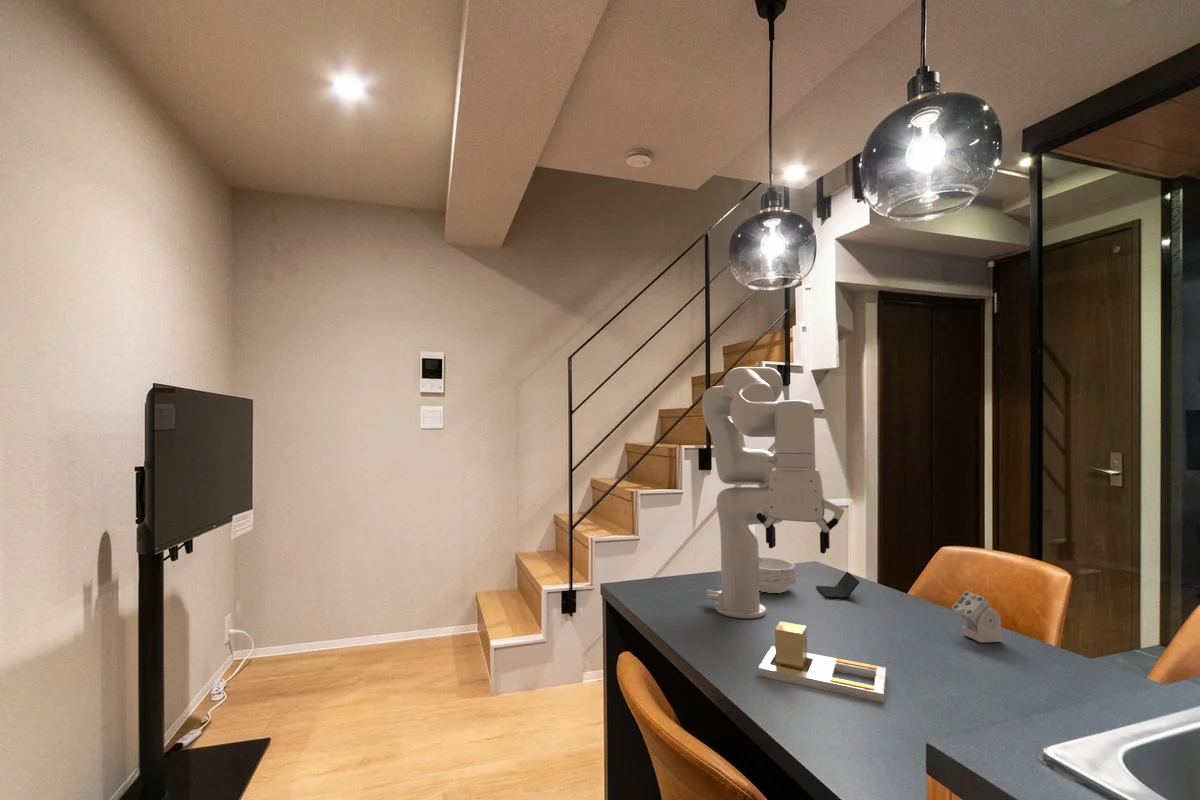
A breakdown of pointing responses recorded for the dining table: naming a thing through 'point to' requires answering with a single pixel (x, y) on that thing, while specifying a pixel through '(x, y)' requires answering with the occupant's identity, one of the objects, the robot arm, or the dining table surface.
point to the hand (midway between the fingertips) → (797, 549)
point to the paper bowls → (775, 575)
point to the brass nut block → (791, 646)
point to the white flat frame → (829, 675)
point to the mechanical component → (978, 618)
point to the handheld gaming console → (840, 588)
